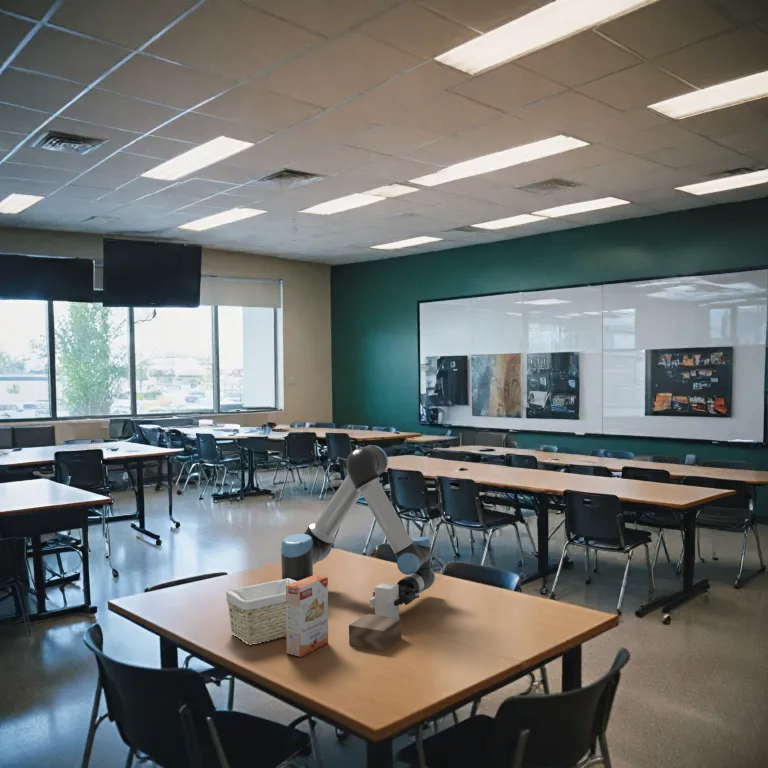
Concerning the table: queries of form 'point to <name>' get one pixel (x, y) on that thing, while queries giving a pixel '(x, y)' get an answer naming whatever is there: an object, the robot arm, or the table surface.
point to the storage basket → (259, 611)
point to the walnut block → (375, 631)
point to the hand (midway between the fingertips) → (379, 604)
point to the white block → (386, 599)
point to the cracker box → (306, 615)
